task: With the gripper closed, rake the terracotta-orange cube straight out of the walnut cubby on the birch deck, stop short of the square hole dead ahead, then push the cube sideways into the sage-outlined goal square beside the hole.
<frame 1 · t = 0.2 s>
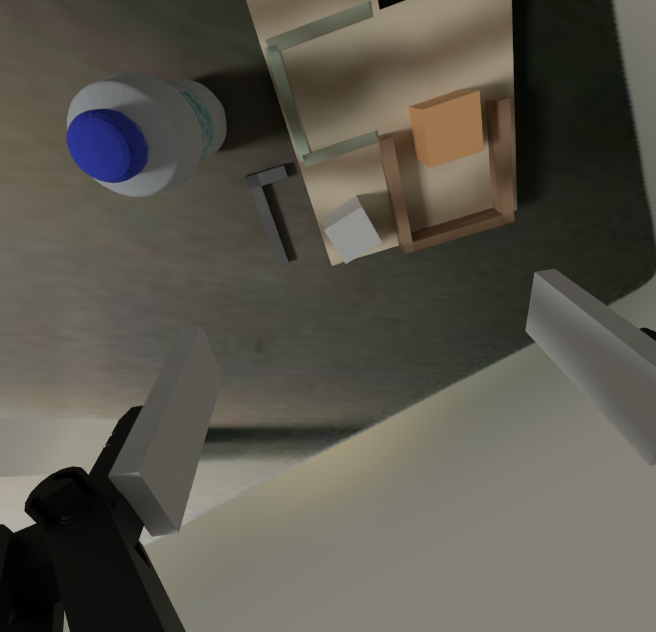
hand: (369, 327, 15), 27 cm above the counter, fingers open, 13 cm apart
crook tool: (269, 219, 40), on the counter
cubby: (443, 177, 36), resting on deck
deck: (390, 87, 34), on the counter
cube: (436, 125, 34), point 2 cm above the counter, touching deck
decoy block: (348, 222, 38), point 2 cm above the counter, touching deck
bottle: (196, 119, 35), on the counter
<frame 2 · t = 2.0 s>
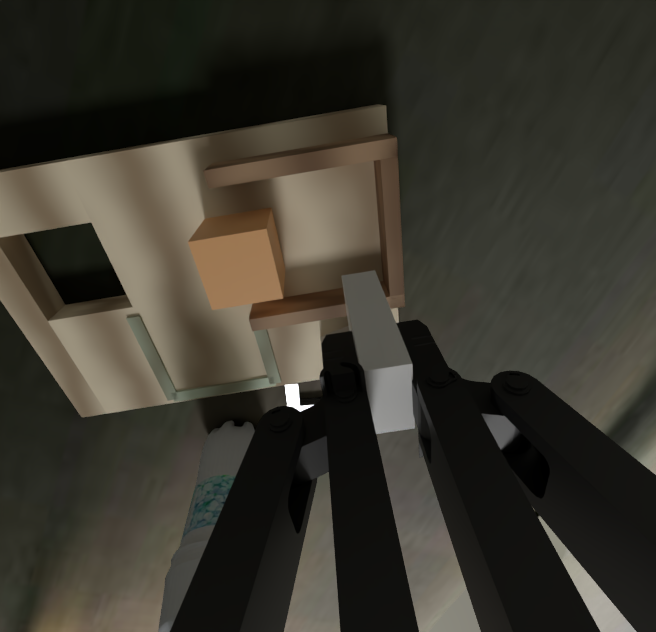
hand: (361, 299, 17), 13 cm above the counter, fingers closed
crook tool: (338, 398, 38), on the counter
cubby: (314, 233, 26), resting on deck
deck: (210, 277, 30), on the counter
cube: (246, 245, 26), point 2 cm above the counter, touching deck
bottle: (238, 434, 39), on the counter
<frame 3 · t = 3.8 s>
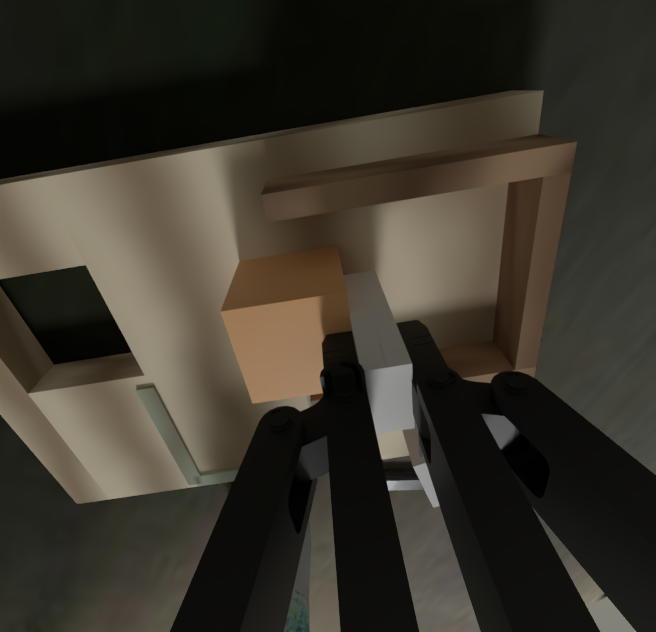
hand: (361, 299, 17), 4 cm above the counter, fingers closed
crook tool: (400, 471, 30), on the counter
cubby: (406, 279, 18), resting on deck
deck: (249, 330, 22), on the counter
cube: (297, 296, 18), point 3 cm above the counter, touching deck, gripper
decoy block: (436, 419, 23), point 2 cm above the counter, touching deck
bottle: (273, 509, 32), on the counter
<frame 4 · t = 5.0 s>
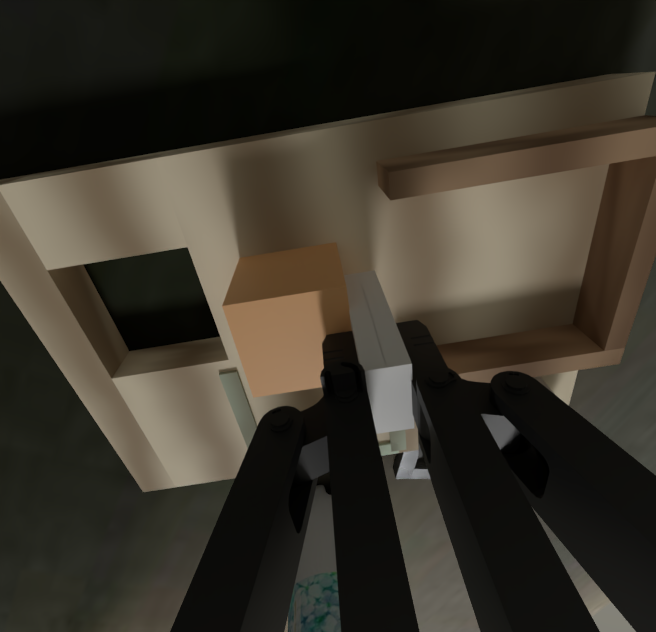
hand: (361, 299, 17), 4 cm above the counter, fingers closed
crook tool: (454, 461, 30), on the counter
cubby: (497, 261, 18), resting on deck
deck: (326, 315, 22), on the counter
cube: (296, 292, 18), point 3 cm above the counter, touching deck, gripper
bottle: (325, 498, 32), on the counter
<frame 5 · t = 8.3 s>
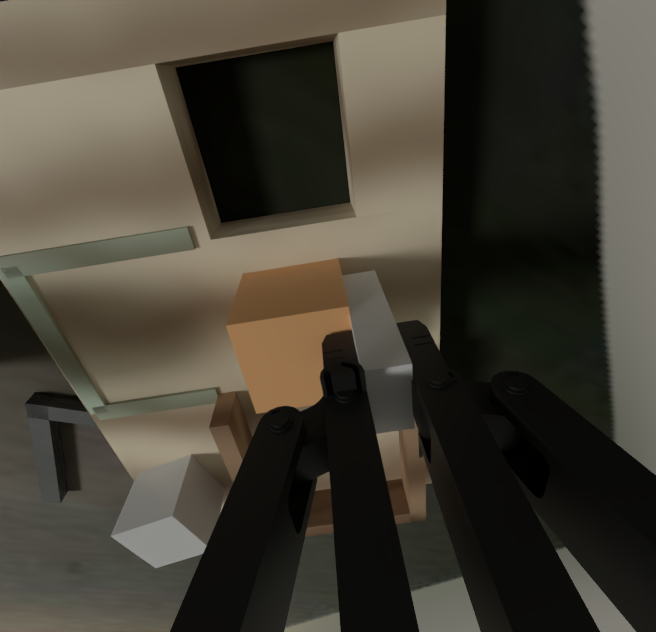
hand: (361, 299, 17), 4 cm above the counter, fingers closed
crook tool: (54, 443, 26), on the counter
cubby: (328, 444, 24), resting on deck
deck: (253, 315, 21), on the counter
cube: (299, 307, 18), point 3 cm above the counter, touching gripper
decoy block: (182, 481, 25), point 2 cm above the counter, touching deck
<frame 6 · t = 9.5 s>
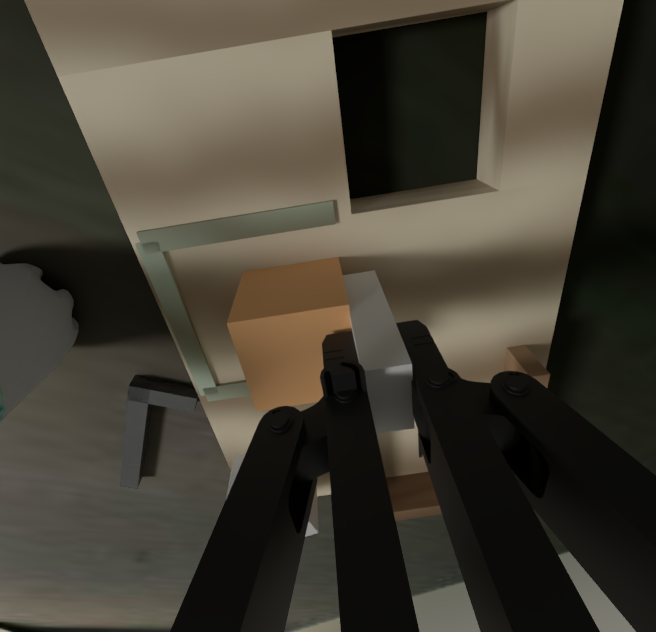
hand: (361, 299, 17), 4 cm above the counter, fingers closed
crook tool: (140, 428, 26), on the counter
cubby: (426, 427, 24), resting on deck
deck: (361, 296, 21), on the counter
cube: (299, 305, 19), point 3 cm above the counter, touching gripper
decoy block: (276, 465, 25), point 2 cm above the counter, touching deck
bottle: (30, 300, 20), on the counter
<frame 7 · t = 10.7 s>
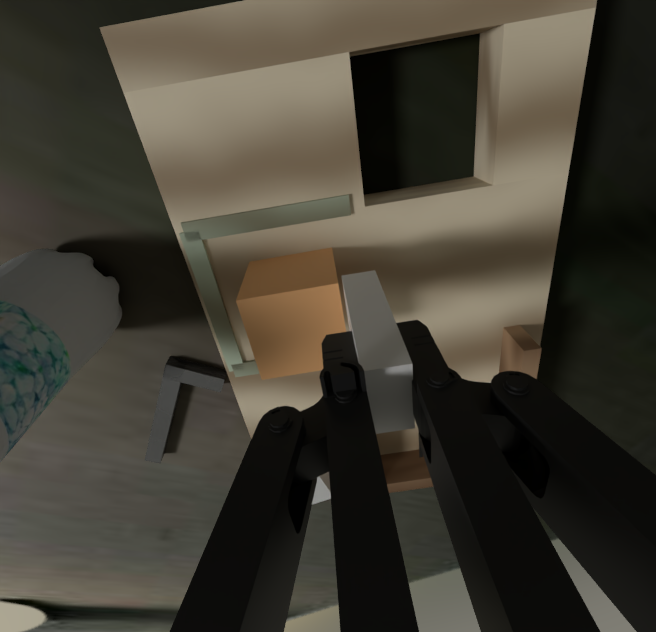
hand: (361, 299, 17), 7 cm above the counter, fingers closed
crook tool: (167, 406, 29), on the counter
cubby: (431, 403, 26), resting on deck
deck: (372, 282, 24), on the counter
cube: (298, 291, 21), point 2 cm above the counter, touching deck
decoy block: (294, 439, 27), point 2 cm above the counter, touching deck
bottle: (80, 287, 23), on the counter
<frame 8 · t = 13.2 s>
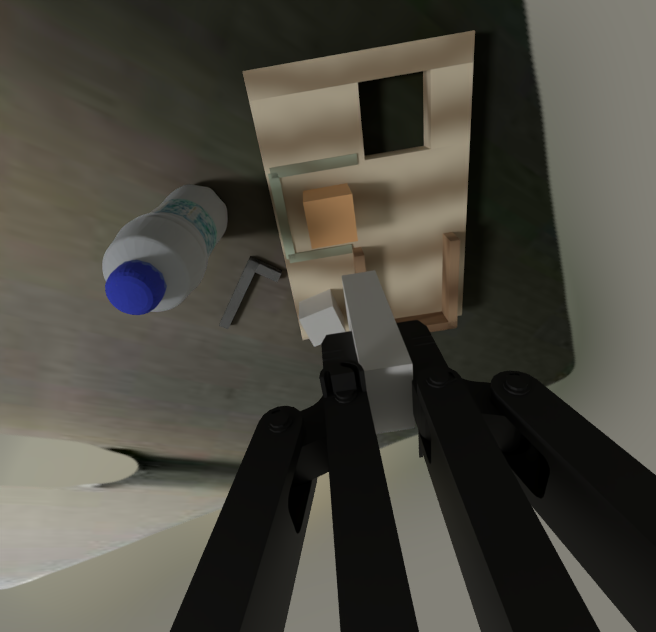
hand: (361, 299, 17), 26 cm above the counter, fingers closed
crook tool: (239, 291, 46), on the counter
cubby: (403, 284, 44), resting on deck
deck: (368, 208, 41), on the counter
cube: (328, 209, 39), point 2 cm above the counter, touching deck
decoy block: (321, 308, 45), point 2 cm above the counter, touching deck
bottle: (201, 210, 41), on the counter
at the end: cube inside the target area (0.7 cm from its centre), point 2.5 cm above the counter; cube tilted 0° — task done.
